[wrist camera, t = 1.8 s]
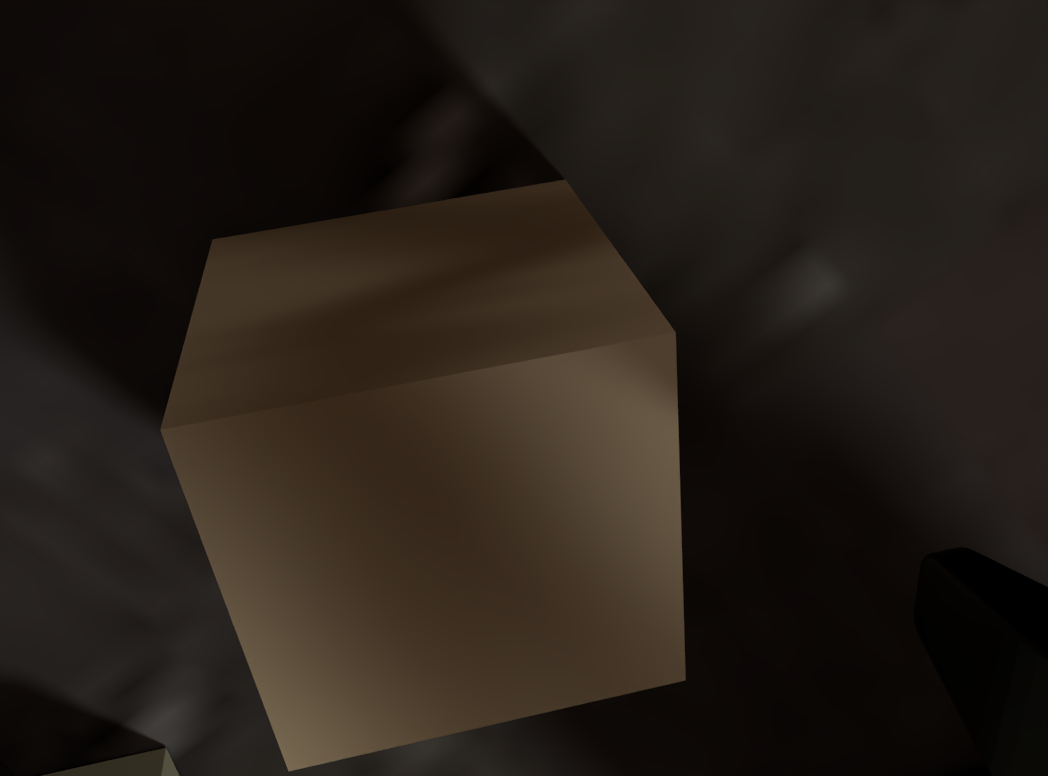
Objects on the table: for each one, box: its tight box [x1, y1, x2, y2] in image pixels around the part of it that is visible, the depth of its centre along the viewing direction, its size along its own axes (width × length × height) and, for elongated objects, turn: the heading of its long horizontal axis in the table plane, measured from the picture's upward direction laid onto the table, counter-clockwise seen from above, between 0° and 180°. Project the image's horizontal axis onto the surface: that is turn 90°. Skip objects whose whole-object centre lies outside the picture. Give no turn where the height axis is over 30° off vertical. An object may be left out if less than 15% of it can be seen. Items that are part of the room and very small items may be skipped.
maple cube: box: [160, 180, 686, 771], centre depth 12 cm, size 5×5×5 cm
